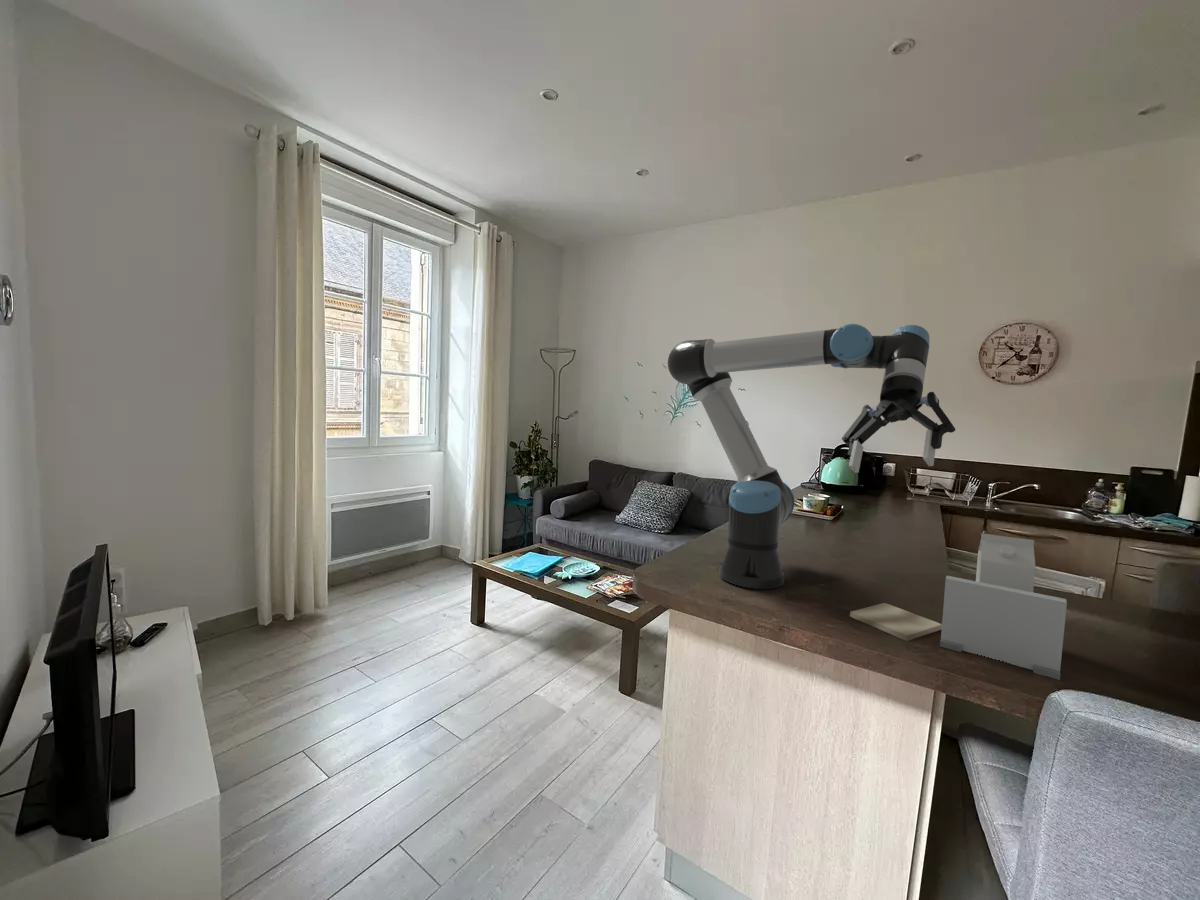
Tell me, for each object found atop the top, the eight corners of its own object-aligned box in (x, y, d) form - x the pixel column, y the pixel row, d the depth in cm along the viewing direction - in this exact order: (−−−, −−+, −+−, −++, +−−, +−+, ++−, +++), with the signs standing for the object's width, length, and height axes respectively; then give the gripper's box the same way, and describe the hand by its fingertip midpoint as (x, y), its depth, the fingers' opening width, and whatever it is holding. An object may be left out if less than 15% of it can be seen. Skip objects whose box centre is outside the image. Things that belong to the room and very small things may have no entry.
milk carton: (971, 626, 89) (979, 529, 88) (1021, 637, 85) (1030, 536, 84) (974, 640, 83) (983, 537, 82) (1027, 653, 79) (1037, 544, 78)
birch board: (850, 616, 93) (850, 611, 92) (884, 607, 97) (884, 602, 97) (906, 641, 83) (907, 635, 83) (941, 629, 88) (942, 624, 88)
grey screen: (939, 646, 81) (945, 579, 80) (942, 638, 84) (947, 574, 83) (1059, 680, 71) (1067, 604, 70) (1057, 669, 74) (1065, 597, 73)
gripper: (980, 381, 92) (973, 470, 83) (852, 407, 112) (835, 481, 103) (965, 356, 88) (956, 446, 80) (836, 388, 109) (818, 462, 100)
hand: (888, 466), depth 91 cm, fingers open, 13 cm apart
